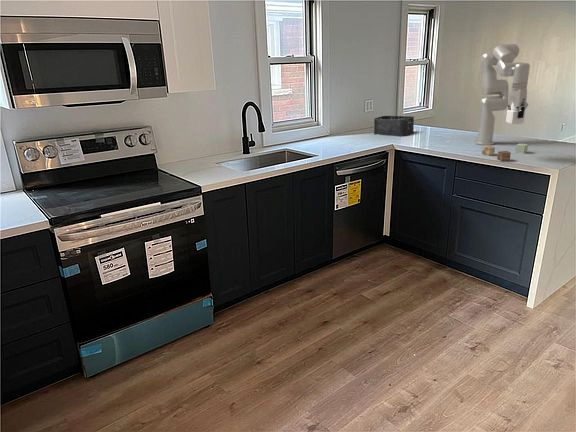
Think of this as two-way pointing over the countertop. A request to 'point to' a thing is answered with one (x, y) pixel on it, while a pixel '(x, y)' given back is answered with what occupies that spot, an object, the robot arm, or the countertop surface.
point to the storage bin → (393, 125)
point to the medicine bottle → (514, 116)
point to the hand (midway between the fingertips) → (515, 116)
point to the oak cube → (488, 150)
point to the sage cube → (521, 148)
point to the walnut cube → (503, 156)
